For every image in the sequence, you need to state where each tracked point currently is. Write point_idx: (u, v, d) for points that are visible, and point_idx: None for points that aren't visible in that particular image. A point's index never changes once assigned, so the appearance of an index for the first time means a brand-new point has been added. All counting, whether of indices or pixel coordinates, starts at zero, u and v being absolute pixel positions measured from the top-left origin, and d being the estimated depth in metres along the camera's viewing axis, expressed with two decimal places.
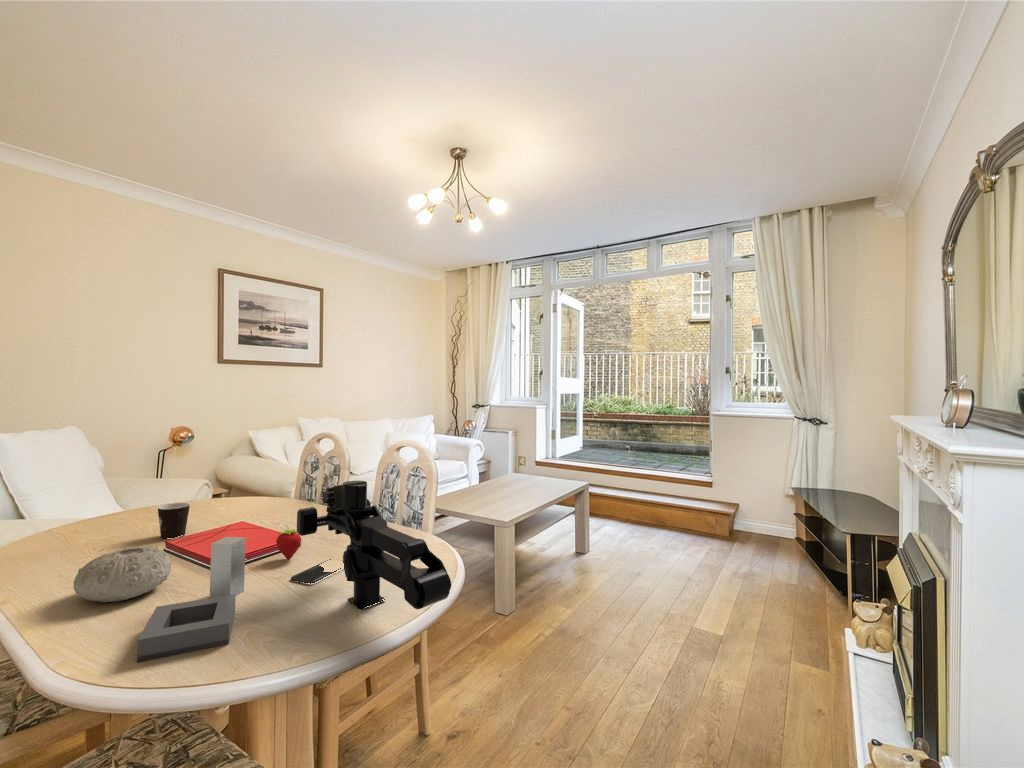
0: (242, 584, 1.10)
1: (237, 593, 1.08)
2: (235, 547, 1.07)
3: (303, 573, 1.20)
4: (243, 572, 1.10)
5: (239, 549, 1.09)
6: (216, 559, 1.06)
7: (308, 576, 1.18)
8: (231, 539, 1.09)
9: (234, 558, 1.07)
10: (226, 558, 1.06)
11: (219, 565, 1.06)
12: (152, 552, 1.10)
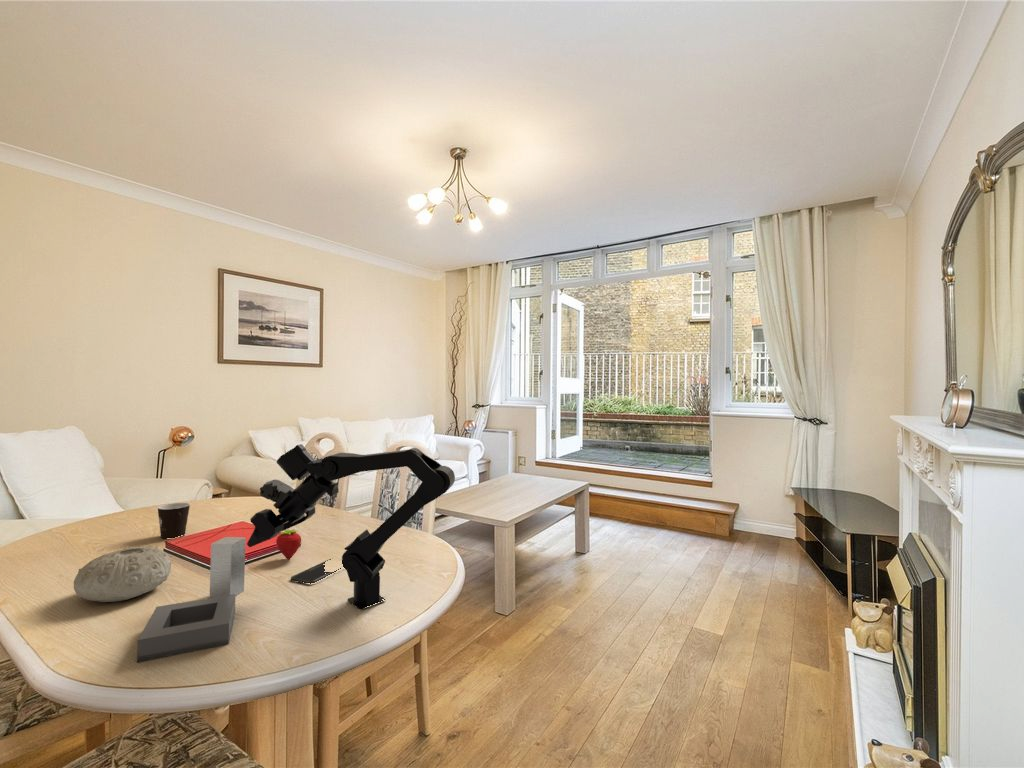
0: (242, 584, 1.10)
1: (237, 593, 1.08)
2: (235, 547, 1.07)
3: (303, 573, 1.20)
4: (243, 572, 1.10)
5: (239, 549, 1.09)
6: (216, 559, 1.06)
7: (308, 576, 1.18)
8: (231, 539, 1.09)
9: (234, 558, 1.07)
10: (226, 558, 1.06)
11: (219, 565, 1.06)
12: (152, 552, 1.10)
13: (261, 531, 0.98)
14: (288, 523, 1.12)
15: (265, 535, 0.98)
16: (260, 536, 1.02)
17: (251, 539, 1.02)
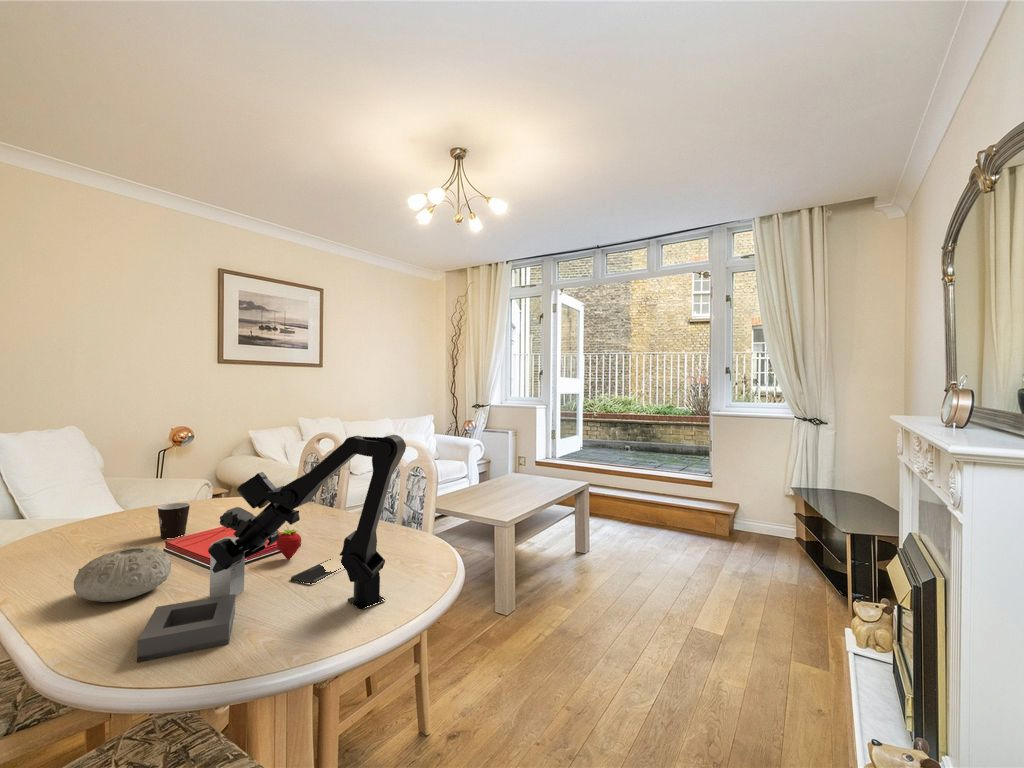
0: (242, 584, 1.10)
1: (237, 593, 1.08)
2: None
3: (303, 573, 1.20)
4: (243, 572, 1.10)
5: None
6: None
7: (308, 576, 1.18)
8: None
9: None
10: None
11: None
12: (152, 552, 1.10)
13: (218, 561, 0.99)
14: (246, 552, 1.11)
15: (222, 565, 0.99)
16: None
17: (216, 565, 1.05)
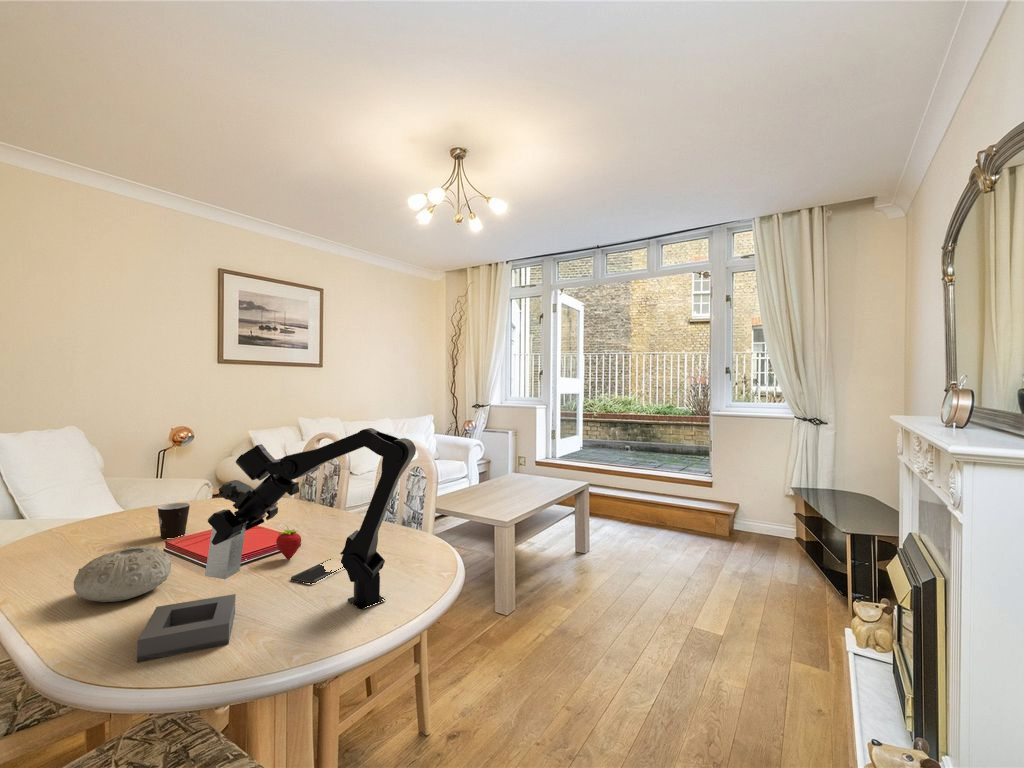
0: (238, 564, 1.09)
1: (233, 572, 1.07)
2: None
3: (303, 573, 1.20)
4: (241, 552, 1.09)
5: None
6: None
7: (308, 576, 1.18)
8: None
9: (235, 537, 1.06)
10: None
11: None
12: (152, 552, 1.10)
13: (219, 531, 0.98)
14: None
15: (223, 535, 0.98)
16: None
17: (215, 537, 1.04)
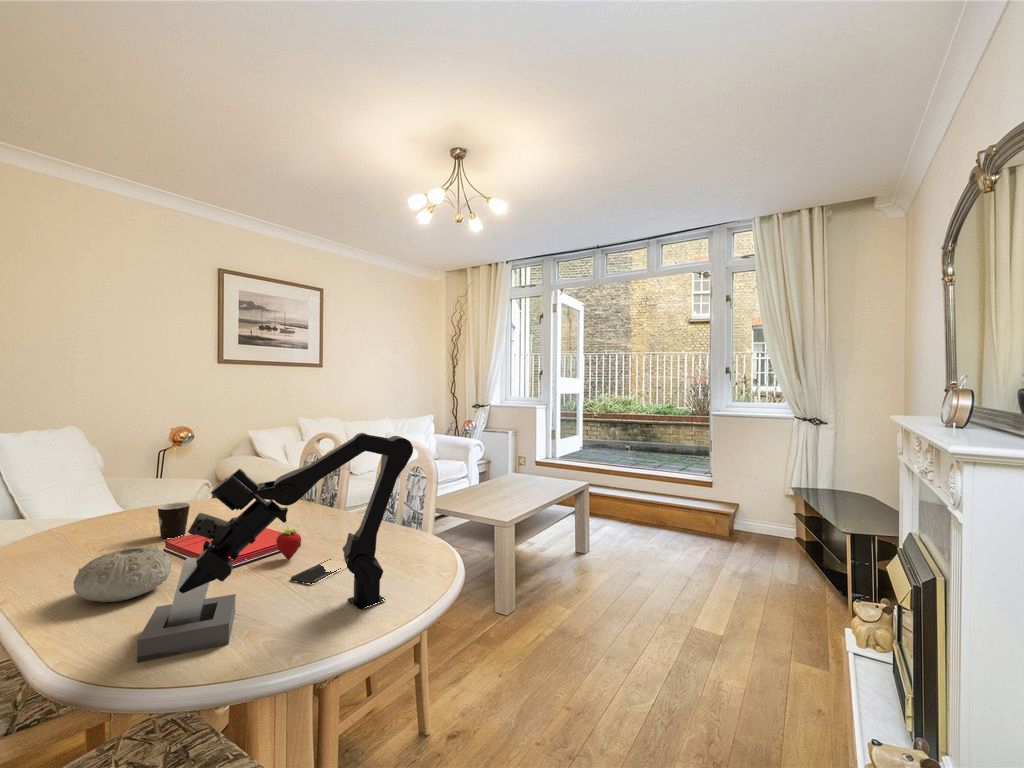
0: (200, 615, 0.93)
1: None
2: None
3: (303, 573, 1.20)
4: (204, 600, 0.93)
5: None
6: None
7: (308, 576, 1.18)
8: None
9: (208, 583, 0.91)
10: None
11: (189, 592, 0.88)
12: (152, 552, 1.10)
13: (214, 573, 0.84)
14: None
15: (219, 577, 0.85)
16: (202, 577, 0.88)
17: (186, 583, 0.87)
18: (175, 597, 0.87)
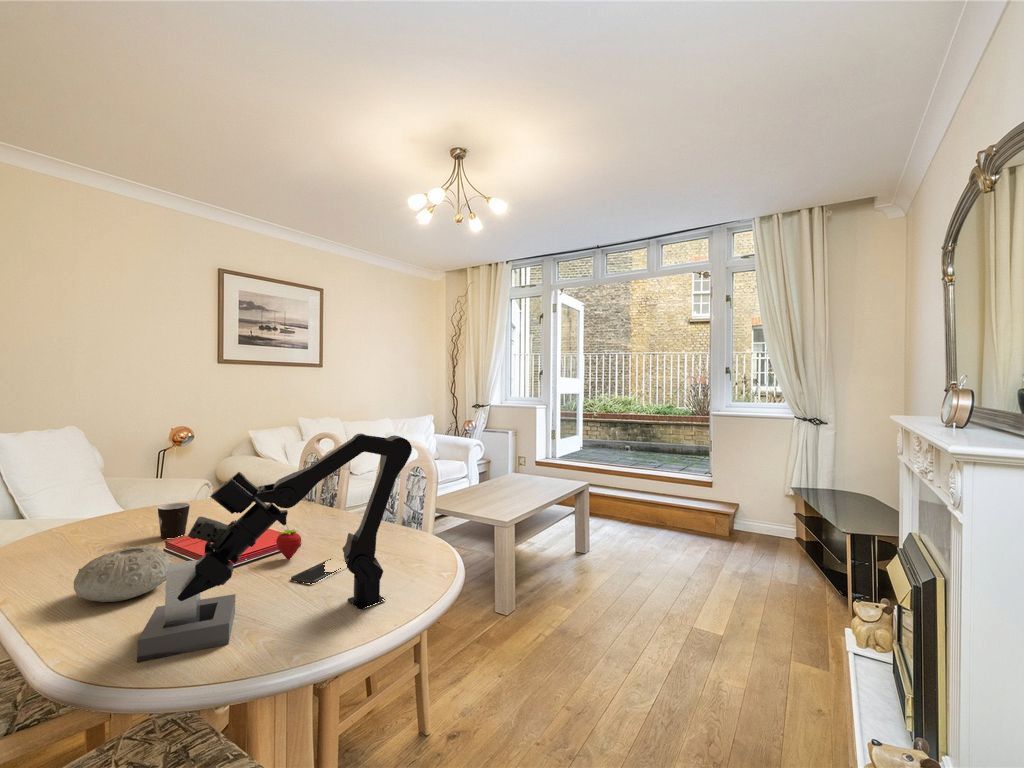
0: (199, 615, 0.93)
1: None
2: None
3: (303, 573, 1.20)
4: (199, 600, 0.93)
5: None
6: (174, 589, 0.87)
7: (308, 576, 1.18)
8: (185, 564, 0.91)
9: None
10: None
11: None
12: (152, 552, 1.10)
13: (214, 577, 0.84)
14: None
15: (220, 581, 0.85)
16: (201, 585, 0.86)
17: (185, 591, 0.86)
18: (166, 603, 0.87)
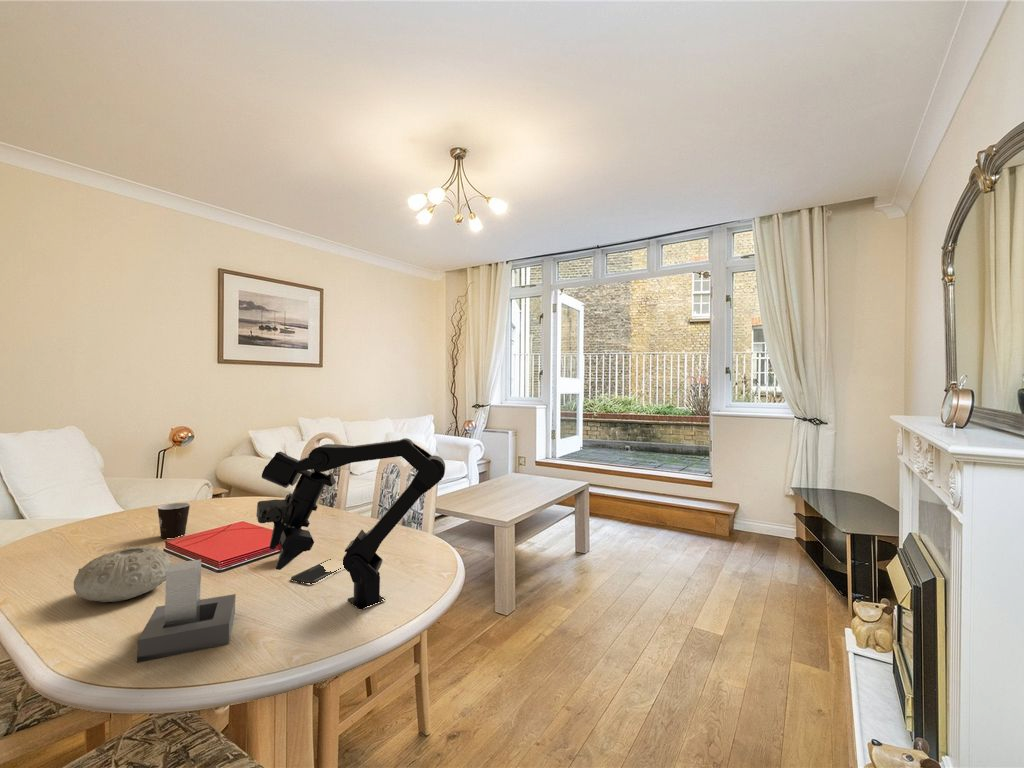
0: (199, 615, 0.93)
1: None
2: (198, 571, 0.90)
3: (303, 573, 1.20)
4: (199, 600, 0.93)
5: (199, 574, 0.92)
6: (174, 589, 0.87)
7: (308, 576, 1.18)
8: (185, 564, 0.91)
9: (198, 583, 0.90)
10: (189, 586, 0.88)
11: (179, 595, 0.88)
12: (152, 552, 1.10)
13: (301, 548, 0.97)
14: None
15: (307, 548, 0.98)
16: (290, 554, 1.00)
17: (280, 562, 0.99)
18: (166, 603, 0.87)
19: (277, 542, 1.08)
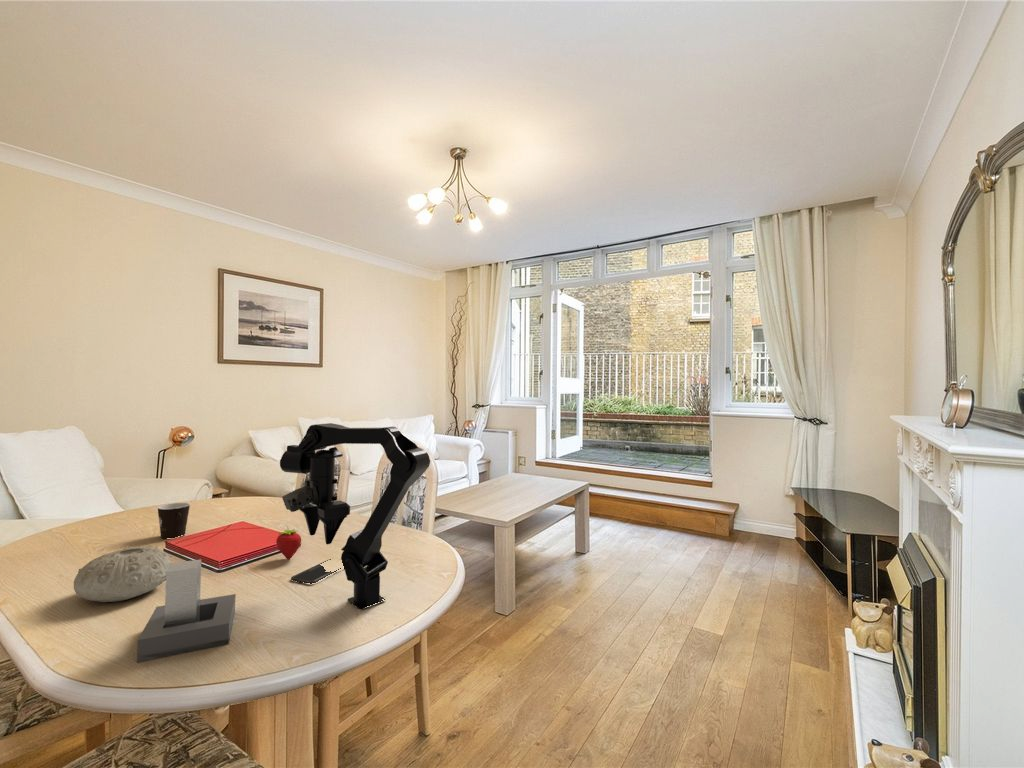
0: (199, 615, 0.93)
1: None
2: (198, 571, 0.90)
3: (303, 573, 1.20)
4: (199, 600, 0.93)
5: (199, 574, 0.92)
6: (174, 589, 0.87)
7: (308, 576, 1.18)
8: (185, 564, 0.91)
9: (198, 583, 0.90)
10: (189, 586, 0.88)
11: (179, 595, 0.88)
12: (152, 552, 1.10)
13: (341, 514, 1.04)
14: (316, 516, 1.14)
15: (346, 513, 1.05)
16: (334, 526, 1.07)
17: (328, 537, 1.06)
18: (166, 603, 0.87)
19: (315, 527, 1.14)
